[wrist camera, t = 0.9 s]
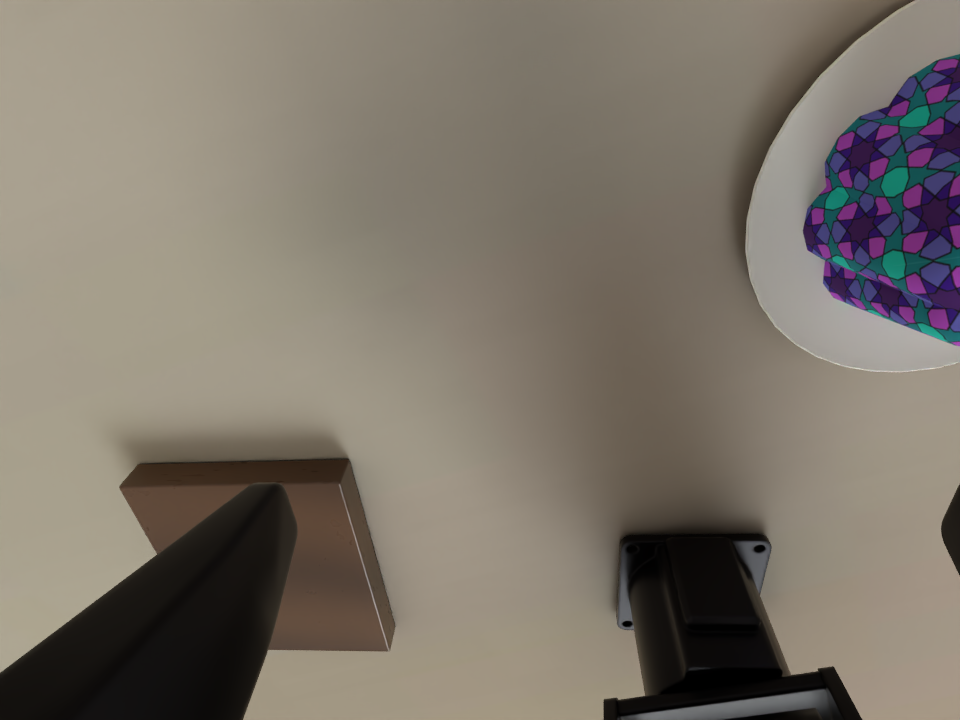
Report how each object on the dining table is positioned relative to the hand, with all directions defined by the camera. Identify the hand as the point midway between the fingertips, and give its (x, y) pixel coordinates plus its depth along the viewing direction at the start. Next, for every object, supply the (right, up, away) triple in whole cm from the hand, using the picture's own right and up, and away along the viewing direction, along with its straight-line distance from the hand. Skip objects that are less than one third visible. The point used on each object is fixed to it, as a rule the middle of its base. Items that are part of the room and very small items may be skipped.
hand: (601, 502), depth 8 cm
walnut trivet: (-12, -8, +21) cm, 25 cm away
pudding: (+13, +7, +10) cm, 18 cm away
